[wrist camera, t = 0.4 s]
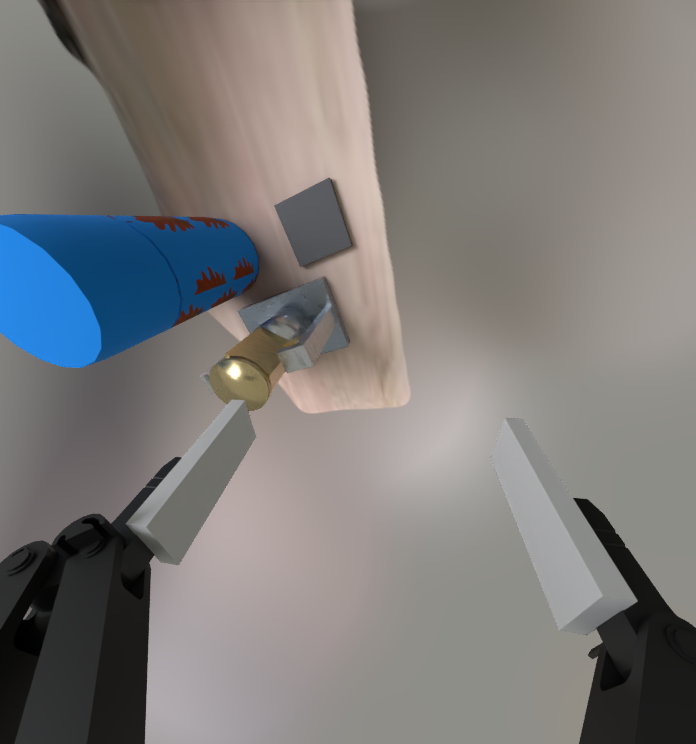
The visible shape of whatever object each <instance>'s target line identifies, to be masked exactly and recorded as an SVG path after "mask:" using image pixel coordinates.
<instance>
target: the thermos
mask: <svg viewBox="0 0 696 744" xmlns="http://www.w3.org/2000/svg"><path fill="white" fill-rule="evenodd" d="M258 271H259V266H258V256H257V253H256V250H255V248H254V245H253V243H252V242H251V240H250V239H249V237H248V236H247V235H246V233H245V232H244V231H243V230H241V229H240V228H239V227H238V226H236V225H235V224H234V223H231V222H228V221H225V220H223V219H216V218H207V217H163V216H156V217H155V216H100V215H38V214H34V215H33V214H12V215H0V332H1V333H2V334H3V335H4V336H5V337H7V338H8V339H9V340H10V341H12V342H13V343H14V344H15V345H17V346H18V347H20V348H21V349H23V350H25V351H27V352H28V353H31V354H32V355H34V356H35V357H37V358H39V359H41V360H43V361H46V362H49V363H53V364H55V365H58V366H61V367H75V368H82V367H84V366H88V365H91V364H93V363H96V362H99V361H102V360H105V359H107V358H109V357H111V356H114V355H116V354H118V353H120V352H122V351H124V350H126V349H128V348H130V347H132V346H135V345H137V344H139V343H141V342H143V341H145V340H147V339H149V338H151V337H153V336H155V335H157V334H159V333H162V332H163V331H166V330H168V329H170V328H172V327H174V326H176V325H178V324H180V323H182V322H184V321H186V320H188V319H190V318H193V317H195V316H196V315H199V314H201V313H203V312H205V311H207V310H209V309H211V308H213V307H215V306H217V305H219V304H222V303H224V302H226V301H228V300H230V299H232V298H234V297H236V296H238V295H240V294H241V293H243V292H244V291H246V290H248V289H249V288H250V287H251V286H252V285H253V283H254V282H255V281H256V278H257V274H258Z"/></svg>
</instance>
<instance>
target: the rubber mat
mask: <svg viewBox="0 0 696 744" xmlns="http://www.w3.org/2000/svg"><path fill="white" fill-rule="evenodd" d="M275 208H276V211H277V213H278V215H279V218H280V220H281V223H282V225H283V227H284V230H285V232H286V234H287V237H288V239H289V241H290V244H291V246H292V248H293V251H294V253H295V255H296V258H297V260H298V262H299V265H300V267H301V266H304V265H306V264H309V263H311V262H314V261H316V260H318V259H321V258H323V257H326V256H328V255H331V254H333V253H335V252H338V251H340V250H343V249H345V248H348V247H350V246H352V242H351V239H350V236H349V233H348V230H347V227H346V224H345V221H344V218H343V215H342V212H341V209H340V206H339V203H338V200H337V197H336V194H335V191H334V187H333V184H332V181H331V179H330V178H328V179H326V180H324V181H322V182H320V183H318V184H316V185H314V186H312V187H310V188H308V189H306V190H304V191H302V192H300V193H298V194H296V195H294V196H292V197H290V198H288V199H287V200H285V201H283V202H281V203H279V204H277V205H275Z"/></svg>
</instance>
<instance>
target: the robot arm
mask: <svg viewBox="0 0 696 744" xmlns="http://www.w3.org/2000/svg"><path fill="white" fill-rule="evenodd" d="M255 438H256V434H255V431H254V428H253V425H252V422H251V419H250V415H249V412H248V409H247V406H246V403H245V400H231V401H230V402H229V403H228V404H227V406H226V407H225V408H224V409H223V410H222V412H221V413H220V414H219V415H218V416H217V417H216V419H215V420H214V421H213V422H212V423H211V424H210V426H209V427H208V428H207V429H206V430H205V431H204V433H203V434H202V435H201V436H200V437H199V438H198V440H197V441H196V442H195V443H194V444H193V446H192V447H191V448H190V449H189V450H188V451H187V453H186V454H185V455H184V456H183V457H182V458H181V457H175V458H174V459H173V460H171V461H170V462H168V463H167V464H166V465H164V466H163V467H162V468H161V469H160V471H159V472H158V473H157V474H156V475H155V476H154V478H153V479H151V480H150V482H149V483H148V484H147V485H146V487H145V488H143V489H142V490H141V492H140V493H139V494H138V495H137V496H136V497H135V498H134V499H133V500H132V502H131V503H130V504H129V505H128V506H127V507H126V508H125V509H124V510H123V512H122V513H121V514H120V515H119V516H118V517H117V518H116V520H114V521H113V522H112V523H111V524H110V523H109V522H108V521H107V520H106V519H105V517H103V516H102V515H100V514H91V515H87V516H84V517H82V518H80V519H78V520H76V521H74V522H73V523H71V524H70V525H69V526H67V527H66V528H65V529H64V530H62V532H61V533H60V534H59V535H58V536H57V537H56V538H55V540H54V541H53V543H52V545H50V544H49V543H47V542H45V541H35V542H32V543H30V544H27V545H25V546H23V547H21V548H20V549H18V550H16V551H15V552H13V553H12V554H10V555H9V556H8V557H7V558H6V559H4V560H3V561H2V562H1V563H0V744H145V720H146V691H147V663H148V636H149V634H148V633H149V607H150V578H151V568H150V564H149V562H150V560H151V559H152V558H153V556H154V555H155V556H156V557H157V559H158V560H159V561H160V562H163V563H169V564H174V565H179V564H180V562H181V561H182V559H183V557H184V556H185V554H186V552H187V551H188V549H189V547H190V546H191V544H192V542H193V541H194V539H195V537H196V535H197V534H198V532H199V530H200V529H201V527H202V526H203V524H204V522H205V521H206V519H207V517H208V516H209V514H210V512H211V511H212V509H213V508H214V506H215V504H216V502H217V501H218V499H219V498H220V496H221V494H222V493H223V491H224V489H225V488H226V486H227V484H228V483H229V481H230V479H231V478H232V476H233V474H234V472H235V471H236V469H237V468H238V466H239V464H240V463H241V461H242V459H243V458H244V456H245V455H246V453H247V451H248V449H249V448H250V446H251V445H252V442H253V441H254V440H255ZM490 458H491V461H492V464H493V466H494V469H495V471H496V474H497V476H498V479H499V481H500V483H501V486H502V489H503V491H504V493H505V496H506V498H507V501H508V503H509V506H510V509H511V511H512V514H513V516H514V519H515V521H516V524H517V526H518V529H519V531H520V534H521V536H522V539H523V541H524V544H525V546H526V549H527V551H528V554H529V556H530V559H531V561H532V563H533V566H534V569H535V571H536V573H537V576H538V579H539V581H540V584H541V586H542V589H543V591H544V594H545V596H546V598H547V601H548V604H549V606H550V609H551V611H552V614H553V616H554V619H555V621H556V624H557V626H558V629H559V630H560V631H565V632H571V633H577V634H583V635H588V634H589V633H591V632H592V631H594V630H595V629H597V631H598V633H599V635H600V637H601V639H602V641H603V643H601V644H600V645H598V646H596V647H595V648H593V649H591V651H590V652H589V654H588V656H589V657H590V658H592V659H594V658H595V657H597V656H598V659H597V663H596V668H595V673H594V677H593V682H592V687H591V691H590V696H589V700H588V705H587V709H586V714H585V719H584V723H583V728H582V733H581V737H580V742H579V744H696V628H695V627H694V626H692V625H691V624H690V623H689V622H687V621H685V620H683V619H681V618H679V617H678V616H676V614H675V613H674V612H673V611H672V610H671V609H670V607H669V606H668V605H667V604H666V602H665V601H664V599H663V598H662V597H661V595H660V594H659V592H658V591H657V590H656V588H655V587H654V585H653V584H652V582H651V581H650V579H649V578H648V577H647V575H646V574H645V572H644V571H643V569H642V568H641V567H640V565H639V564H638V562H637V561H636V560H635V558H634V557H633V555H632V554H631V552H630V551H629V549H628V548H626V547H625V544H624V542H623V541H622V539H621V538H620V537H619V535H618V534H616V533H615V529H614V528H613V527H612V525H611V524H610V522H609V521H608V519H607V518H606V517H605V515H604V514H603V513H602V512H601V511H599V509H598V508H596V507H595V506H594V505H593V504H592V503H591V502H590V501H589V500H587V499H579V498H572V496H571V495H570V493H569V491H568V490H567V488H566V487H565V485H564V483H563V482H562V480H561V479H560V477H559V476H558V474H557V472H556V471H555V469H554V468H553V466H552V464H551V463H550V461H549V460H548V458H547V456H546V455H545V453H544V452H543V450H542V449H541V447H540V445H539V444H538V442H537V441H536V439H535V437H534V436H533V434H532V433H531V431H530V430H529V428H528V426H527V425H526V423H525V422H524V420H523V419H516V418H505V419H504V422H503V425H502V427H501V430H500V432H499V435H498V438H497V440H496V443H495V446H494V448H493V451H492V453H491V456H490ZM29 607H31V608H33V609H32V611H31V612H30V614H29V615H28V616H27V618H26V619H25V620H23V618H24V616H25V614H26V612H27V611H28V609H29Z"/></svg>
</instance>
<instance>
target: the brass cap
mask: <svg viewBox="0 0 696 744" xmlns="http://www.w3.org/2000/svg"><path fill="white" fill-rule="evenodd" d="M300 338H301V336H300V337H297V338H293V339H290V340H288V339H286V338H284V337H281V336H279V335H277V334H275V333H273V332H271V331H269V330H267V329H264V328H262V327H259V328H257V329H256V330H255V331H254V332H252V333H251V334H250V335H249V336H247V337H246V338H245V339H243V340H242V341H241V342H240V343H238V344H237V345H236V346H235V347H233V348H232V349H231V350H230V351H228V352H227V353H226V354H225V358H223V359H222V360H220V361H219V362H218V363H217V364H215V365H214V366H213V368H212V369H211V371H210V384H211V387H212V389H213V391H214V392H215V394H216V395H217V396H218V397H219V398H220V399H221V400H222V401H223V402H224V403H226V404H228V403H229V402H230V401H231V400H245V403H246V406H247V409H248V411H254V410H257V409H259V408H261V407H262V406H263V405H264V404H265V403H266V401H267V400H268V398H269V397H270V395H271V391H272V389H273V388H274V387H275V385H276V384H277V382H278V381H279V380H280V378H281V377H282V375H283V374H284V373H285V371H286V370H285V368H284V366H283V364H282V362H281V360H280V359H279V357H278V355H277V352H278V351H279V350H280V349H281V348H285V347H288V346H291V345H294V344H296V343H297V341H298V340H299V339H300Z"/></svg>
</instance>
